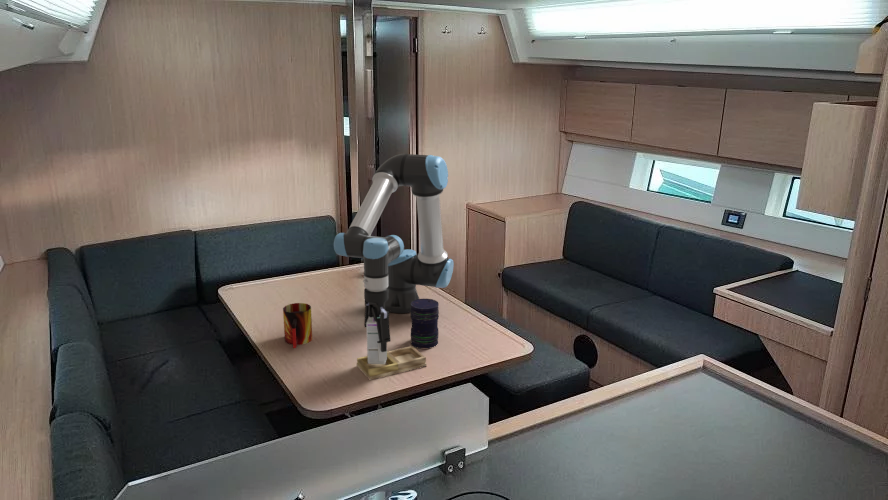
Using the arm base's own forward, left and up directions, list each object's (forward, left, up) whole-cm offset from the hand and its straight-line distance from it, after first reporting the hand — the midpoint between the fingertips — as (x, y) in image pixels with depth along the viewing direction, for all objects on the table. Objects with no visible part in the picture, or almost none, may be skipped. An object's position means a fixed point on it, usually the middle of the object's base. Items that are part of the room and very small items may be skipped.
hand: (377, 354), depth 208 cm
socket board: (-5, 0, -5) cm, 7 cm away
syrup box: (0, 0, -2) cm, 2 cm away
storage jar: (-23, -11, -5) cm, 26 cm away
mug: (+15, -33, -6) cm, 36 cm away
